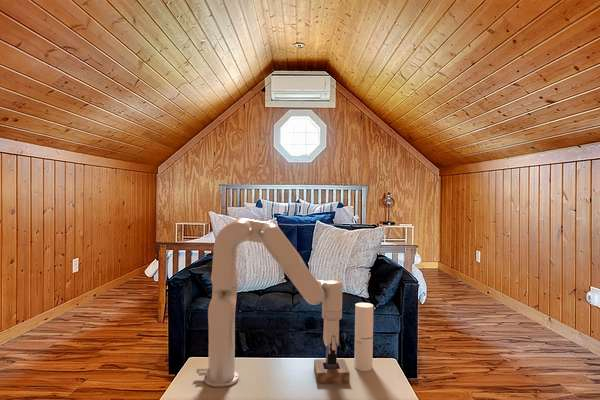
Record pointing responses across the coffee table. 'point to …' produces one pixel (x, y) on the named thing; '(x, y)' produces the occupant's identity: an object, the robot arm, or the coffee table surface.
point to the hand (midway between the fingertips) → (331, 361)
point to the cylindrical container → (363, 336)
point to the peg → (328, 366)
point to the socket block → (331, 372)
